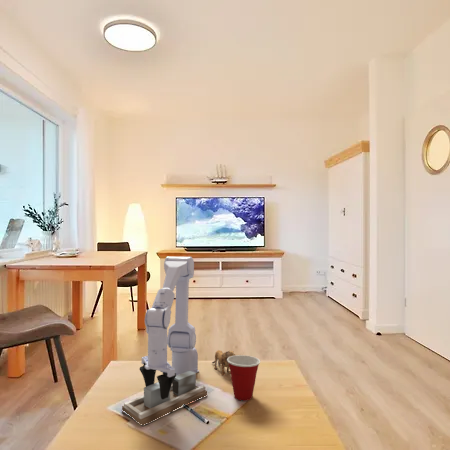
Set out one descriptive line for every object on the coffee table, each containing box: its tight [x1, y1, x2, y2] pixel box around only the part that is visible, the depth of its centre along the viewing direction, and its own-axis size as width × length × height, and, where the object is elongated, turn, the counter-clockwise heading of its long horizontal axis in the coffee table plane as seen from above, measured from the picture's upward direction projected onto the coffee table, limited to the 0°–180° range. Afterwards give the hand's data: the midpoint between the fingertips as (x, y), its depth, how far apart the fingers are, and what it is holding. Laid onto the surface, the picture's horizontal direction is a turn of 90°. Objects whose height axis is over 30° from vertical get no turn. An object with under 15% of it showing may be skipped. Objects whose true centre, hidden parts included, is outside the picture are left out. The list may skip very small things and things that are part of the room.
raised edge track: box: [121, 371, 208, 425], centre depth 104 cm, size 24×11×6 cm, turn 136°
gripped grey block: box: [143, 382, 170, 408], centre depth 102 cm, size 4×7×5 cm, turn 136°
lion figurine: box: [211, 349, 237, 376], centre depth 129 cm, size 15×5×9 cm, turn 35°
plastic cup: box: [227, 354, 261, 402], centre depth 109 cm, size 11×11×12 cm
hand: (157, 393), depth 102 cm, fingers open, 7 cm apart
